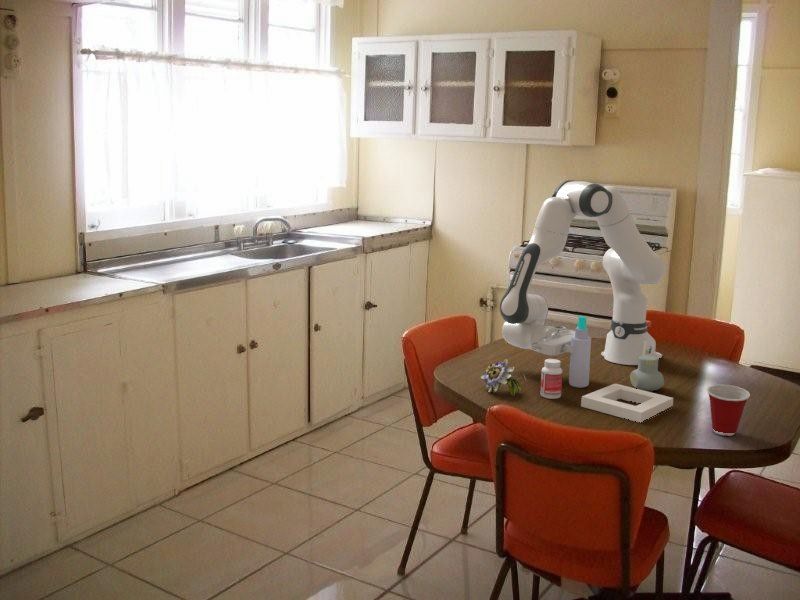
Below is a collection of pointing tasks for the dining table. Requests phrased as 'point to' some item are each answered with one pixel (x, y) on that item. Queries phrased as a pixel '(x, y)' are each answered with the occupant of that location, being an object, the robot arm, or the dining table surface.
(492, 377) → the passion flower
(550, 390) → the pill bottle
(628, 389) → the hole block
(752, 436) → the dining table surface
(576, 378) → the spray bottle
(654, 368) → the air freshener
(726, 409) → the plastic cup
